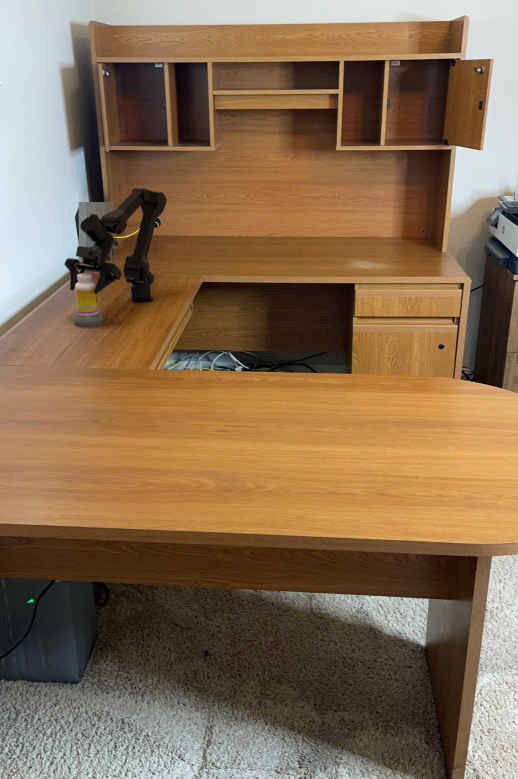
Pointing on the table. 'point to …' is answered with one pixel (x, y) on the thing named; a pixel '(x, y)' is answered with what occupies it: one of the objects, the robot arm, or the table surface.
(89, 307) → the supplement bottle
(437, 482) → the table surface
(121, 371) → the table surface
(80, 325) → the puck
